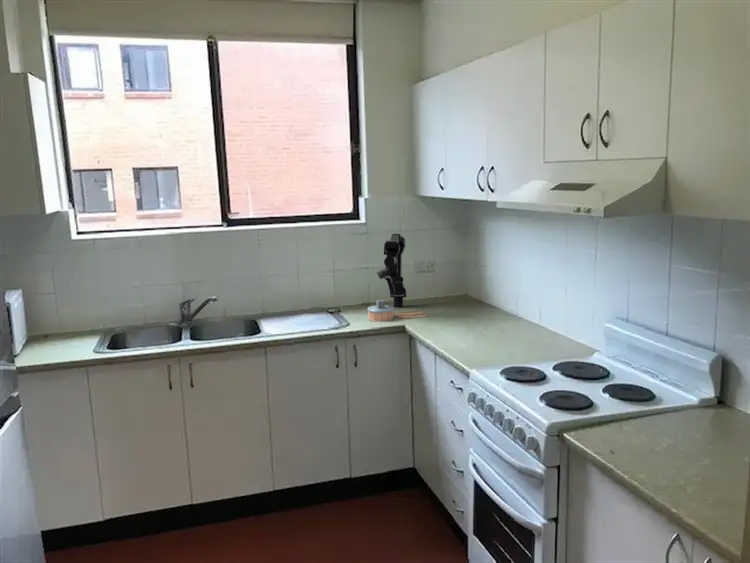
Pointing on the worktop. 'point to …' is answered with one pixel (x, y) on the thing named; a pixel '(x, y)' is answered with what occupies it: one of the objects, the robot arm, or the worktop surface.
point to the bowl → (380, 316)
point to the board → (410, 315)
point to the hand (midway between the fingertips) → (393, 292)
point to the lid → (380, 307)
